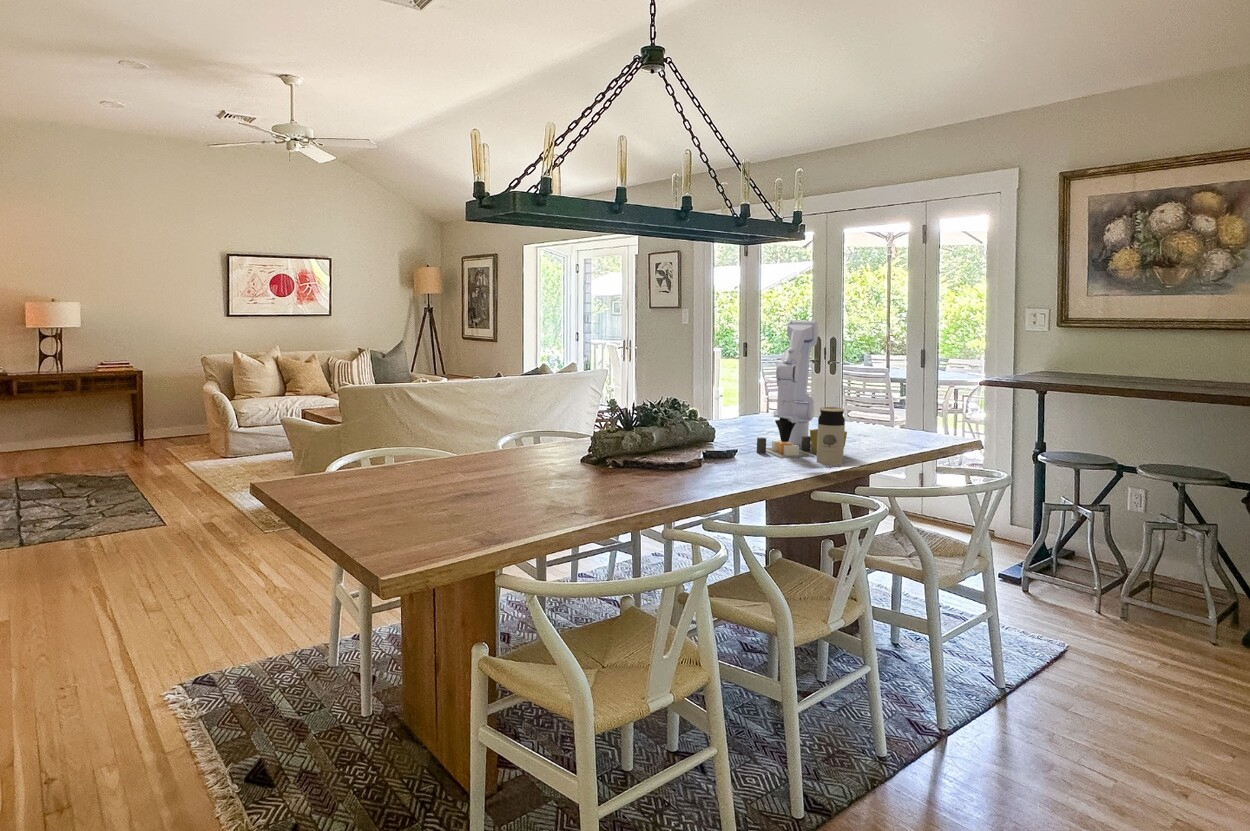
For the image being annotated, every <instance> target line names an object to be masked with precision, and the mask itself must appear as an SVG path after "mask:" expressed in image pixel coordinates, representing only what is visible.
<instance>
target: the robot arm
mask: <svg viewBox="0 0 1250 831" xmlns="http://www.w3.org/2000/svg"><path fill="white" fill-rule="evenodd" d="M786 334H787V337H788V340H789V346H788V348H786V350H784V353H783V356H782V360H781V363H780V364H779V365H777V366H776V369H775V370H776V371H775V376H776V377H775V378H776V387H777V403H776V406H777V407H776V410H774V411H773V417H774V418H779V419H776V420H775V421H774V422H775V424H776V427H777V429H778V433H779V437H780V440H781V441H782V442H786V443H788V442H789V443H792V445H797V446H799V445H800V446H801V440H802V436H809V431H810V429H809V427H810V426H809V425H810V421H812V420H813V419H814V415H815V401H814V398H813V397H812V396H810V395H809V394H808V393H807V392H808V381H809V370H810V369H809V368H810V360H811V352H812V351H811V350H812V348H813V347H814V346H816V345H817V344H818V337H819V335H818V334H819V323H818V321H817V320H793V319H790V320H789V321H788V322H787V328H786Z"/></svg>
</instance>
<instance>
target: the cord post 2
mask: <svg viewBox="0 0 1250 831" xmlns="http://www.w3.org/2000/svg"><path fill="white" fill-rule="evenodd" d="M811 446H812V445H811V438H810V435H808V436H802V440H801V445H800V450H802V451H805V452H807V453H810V452H811Z"/></svg>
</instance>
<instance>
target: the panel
mask: <svg viewBox="0 0 1250 831" xmlns="http://www.w3.org/2000/svg"><path fill="white" fill-rule="evenodd" d="M766 453H767V454H769V455H771V456H774V457H775V458H779V459H793V458H798V459H799V458H814V457H815V454H811V453H810V452H805V451H802V450H801V449H799V453H798V455H793V456H786V455H784V453H779V452H778V451H775V450H772V447H766Z"/></svg>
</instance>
